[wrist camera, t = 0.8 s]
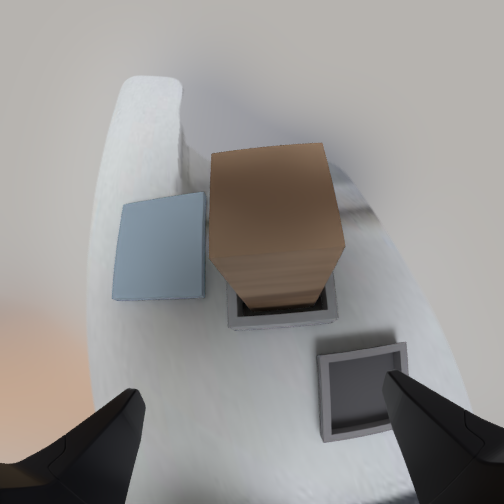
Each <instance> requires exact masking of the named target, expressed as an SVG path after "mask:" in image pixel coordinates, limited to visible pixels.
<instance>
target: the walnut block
mask: <svg viewBox="0 0 504 504" xmlns="http://www.w3.org/2000/svg"><path fill="white" fill-rule="evenodd" d="M344 248H345V241H344V236H343V230H342V225H341V220H340V215H339V210H338V206H337V201H336V196H335V192H334V188H333V183H332V179H331V175H330V171H329V167H328V163H327V159H326V155H325V151H324V147H323V144H322V143H309V144H293V145H280V146H270V147H260V148H250V149H242V150H234V151H226V152H219V153H213V154H211V177H210V211H209V259H210V260H211V262H212V263H213V264H214V265H215V267H216V268H217V269H218V271H219V272H220V273H221V274H222V276H223V277H224V278H225V279H226V281H227V282H228V283H229V284H230V286H231V287H232V288H233V289H234V291H235V292H236V293H237V294H238V296H239V297H240V298H241V299H242V300H243V302H244V303H245V304H246V305H247V307H248V308H249V309H250V310H251V311H252V312H264V311H277V310H289V309H300V308H310V307H313V306H314V304H315V303H316V301H317V299H318V297H319V295H320V294H321V292H322V290H323V288H324V286H325V284H326V283H327V281H328V279H329V277H330V275H331V273H332V271H333V269H334V268H335V266H336V264H337V262H338V260H339V258H340V256H341V254H342V252H343V250H344Z"/></svg>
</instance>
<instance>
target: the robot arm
mask: <svg viewBox="0 0 504 504" xmlns="http://www.w3.org/2000/svg"><path fill="white" fill-rule="evenodd" d="M382 393H383V397H384V401H385V404H386V408H387V412H388V415H389V419H390V423H391V426H392V429H393V431H394V434H395V437H396V439H397V442H398V444H399V447H400V449H401V452H402V455H403V457H404V460H405V463H406V466H407V468H408V471H409V474H410V477H411V480H412V483H413V485H414V488H415V491H416V494H417V497H418V500H419V504H504V428H503V427H500V426H498V425H495V424H493V423H491V422H488V421H486V420H484V419H481V418H480V417H478V416H476V415H474V414H472V413H471V412H469V411H467V410H464V409H463V408H462V407H460V406H458V405H457V404H455V403H453V402H451V401H450V400H448V399H446V398H445V397H443V396H441V395H439V394H438V393H436V392H434V391H433V390H431V389H429V388H428V387H426V386H424V385H423V384H421V383H419V382H417V381H416V380H414V379H412V378H411V377H409V376H408V375H406V374H404V373H403V372H401V371H399V370H397V369H395V370H390V371H387V372H386V374H385V378H384V382H383V385H382ZM145 409H146V407H145V403H144V401H143V398H142V396H141V394H140V392H139V391H138V390H137V389H131V388H128V389H126V390H125V391H123V392H122V393H121V394H119V395H118V396H117V397H115V398H114V399H113V400H111V401H110V402H109V403H107V404H106V405H105V406H103V407H102V408H101V409H99V410H98V411H97V412H95V413H94V414H93V415H91V416H90V417H89V418H87V419H86V420H85V421H83V422H82V423H80V424H79V425H78V426H76V427H75V428H74V429H72V430H71V431H70V432H68V433H67V434H66V435H64V436H62V437H61V438H59V439H58V440H57V441H55V442H54V443H52V444H51V445H49V446H47V447H46V448H44V449H42V450H41V451H39V452H37V453H35V454H33V455H31V456H29V457H27V458H26V459H24V460H22V461H20V462H17V463H13V464H5V463H0V504H125V501H126V496H127V492H128V488H129V484H130V480H131V476H132V472H133V468H134V464H135V460H136V456H137V453H138V449H139V445H140V441H141V435H142V428H143V422H144V415H145Z"/></svg>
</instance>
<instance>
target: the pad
mask: <svg viewBox="0 0 504 504" xmlns="http://www.w3.org/2000/svg"><path fill="white" fill-rule="evenodd" d="M205 219H206V196H205V194H204V192H197V193H190V194H184V195H177V196H171V197H164V198H158V199H152V200H147V201H141V202H135V203H130V204H125V205H123V210H122V216H121V222H120V228H119V235H118V242H117V250H116V258H115V267H114V277H113V289H112V299H114V300H117V301H128V300H162V299H186V298H205Z"/></svg>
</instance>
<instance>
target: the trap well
mask: <svg viewBox="0 0 504 504" xmlns="http://www.w3.org/2000/svg"><path fill="white" fill-rule="evenodd" d="M317 364H318V380H319V400H320V429H321V438H322V440H323V442H324V443H326V442H333V441H340V440H346V439H352V438H357V437H362V436H367V435H372V434H376V433H381V432H385V431H389V430H393V429H392V426H391V423H390V419H389V415H388V412H387V408H386V404H385V401H384V397H383V393H382V385H383V382H384V378H385V374H386V372H387V371H390V370H395V369H397V370H399V371H401V372H403V373H404V374H406V375H408V376H409V373H408V357H407V345H406V342H401V343H395V344H390V345H384V346H379V347H373V348H367V349H361V350H355V351H348V352H341V353H333V354H325V355H317Z"/></svg>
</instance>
